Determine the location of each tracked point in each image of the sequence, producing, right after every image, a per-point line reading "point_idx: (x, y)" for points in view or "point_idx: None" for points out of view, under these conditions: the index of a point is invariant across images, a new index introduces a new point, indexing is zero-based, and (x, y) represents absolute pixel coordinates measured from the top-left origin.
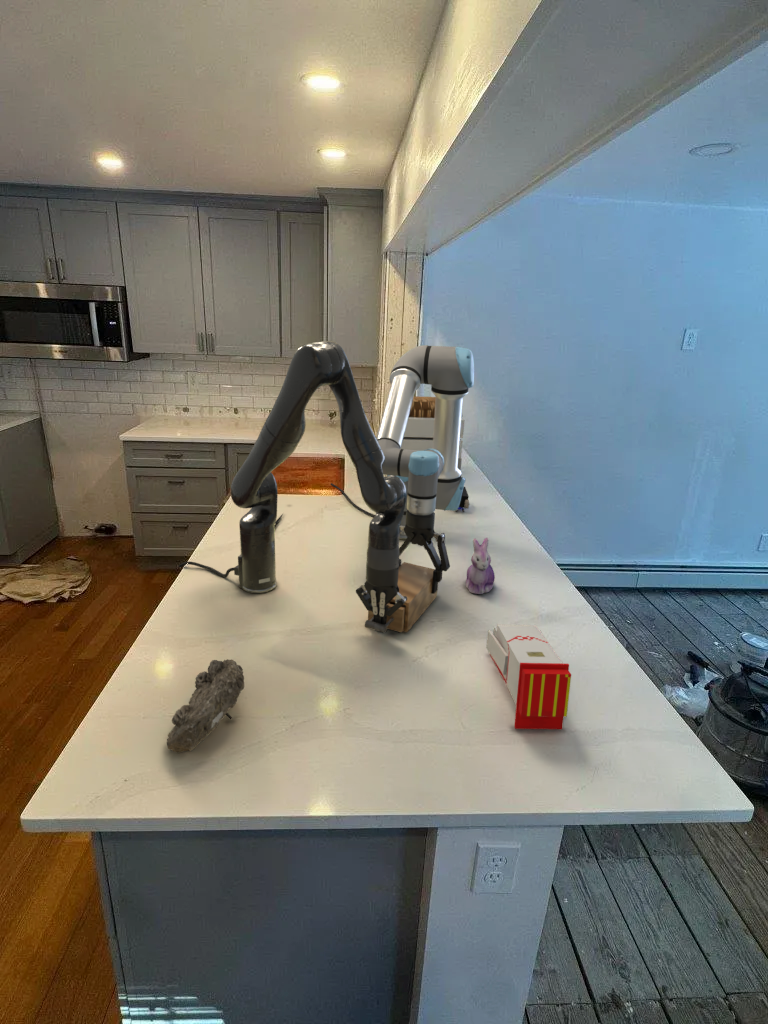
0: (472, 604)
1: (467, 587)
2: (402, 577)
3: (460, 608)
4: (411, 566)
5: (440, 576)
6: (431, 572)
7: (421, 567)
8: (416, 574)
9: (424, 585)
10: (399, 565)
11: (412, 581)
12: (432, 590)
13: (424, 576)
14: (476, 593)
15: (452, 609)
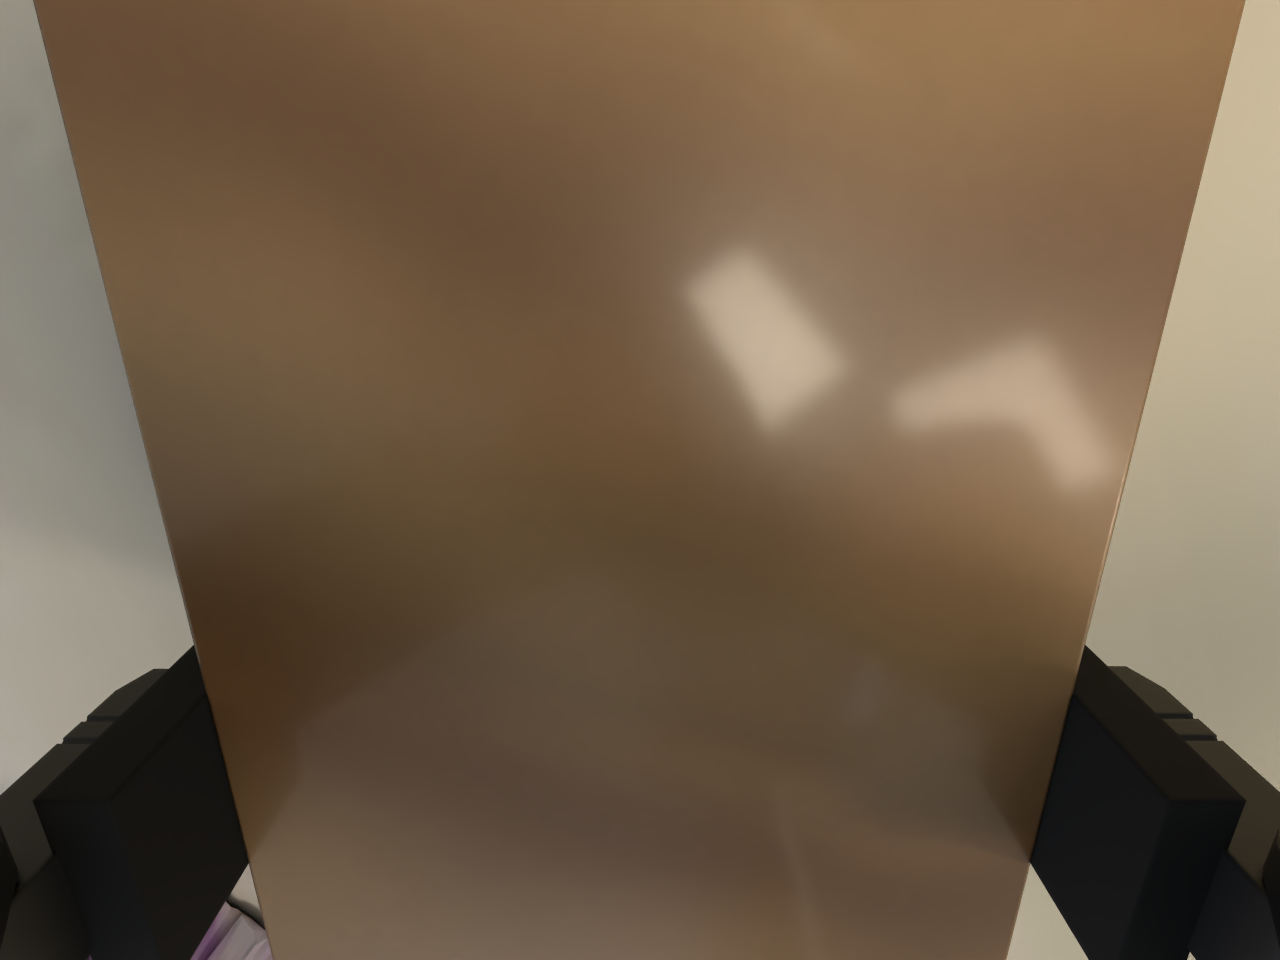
0: (36, 674)
1: (239, 921)
2: (812, 328)
3: (84, 540)
4: (805, 888)
5: (43, 761)
6: (336, 845)
7: (608, 930)
8: (565, 635)
9: (90, 178)
10: (1056, 814)
11: (479, 236)
12: None
13: (366, 634)
14: None
15: (140, 477)
